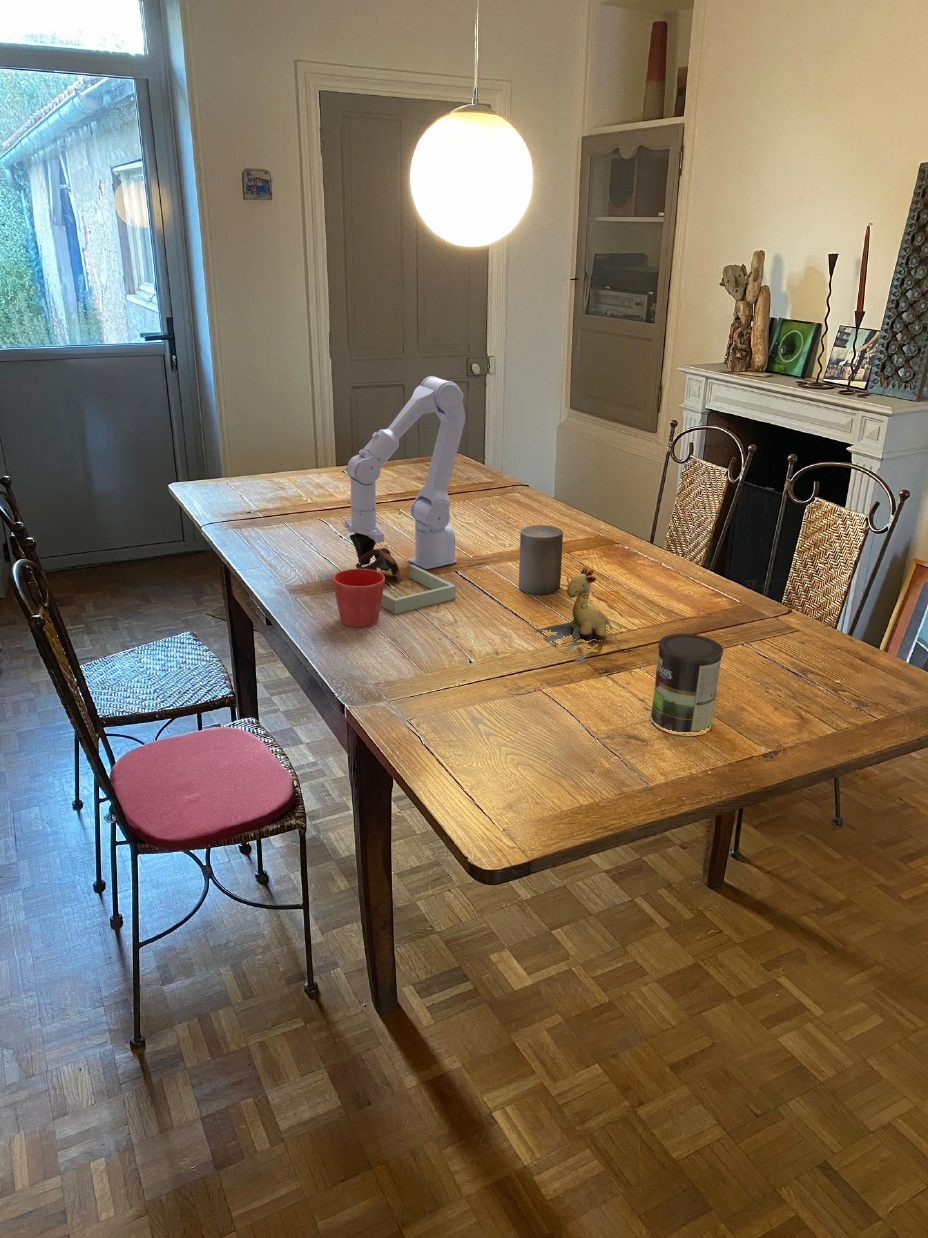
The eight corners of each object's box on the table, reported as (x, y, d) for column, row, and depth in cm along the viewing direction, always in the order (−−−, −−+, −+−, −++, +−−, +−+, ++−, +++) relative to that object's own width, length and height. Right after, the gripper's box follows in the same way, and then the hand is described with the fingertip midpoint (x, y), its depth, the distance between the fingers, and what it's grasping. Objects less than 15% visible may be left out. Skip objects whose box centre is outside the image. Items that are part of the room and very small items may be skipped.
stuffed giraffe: (533, 631, 193) (541, 558, 186) (607, 621, 200) (617, 550, 194) (574, 665, 180) (584, 587, 173) (651, 652, 187) (663, 578, 181)
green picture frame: (413, 576, 221) (413, 564, 220) (455, 598, 209) (455, 585, 207) (354, 590, 212) (353, 577, 211) (394, 613, 200) (394, 600, 199)
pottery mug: (401, 589, 215) (383, 561, 210) (366, 602, 218) (348, 576, 213) (408, 559, 224) (391, 533, 220) (374, 573, 227) (356, 547, 223)
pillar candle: (566, 584, 218) (569, 522, 213) (551, 598, 210) (555, 533, 204) (527, 578, 222) (529, 517, 216) (511, 591, 214) (513, 527, 208)
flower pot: (393, 614, 199) (393, 571, 195) (372, 634, 190) (371, 589, 186) (348, 607, 202) (347, 565, 199) (325, 626, 193) (323, 581, 189)
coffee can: (659, 738, 153) (668, 659, 148) (643, 708, 163) (651, 633, 157) (721, 736, 154) (732, 658, 149) (701, 707, 163) (711, 632, 158)
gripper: (332, 503, 220) (334, 558, 225) (364, 518, 209) (365, 575, 214) (358, 499, 224) (360, 553, 229) (391, 513, 213) (392, 570, 218)
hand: (364, 563), depth 222 cm, fingers closed
